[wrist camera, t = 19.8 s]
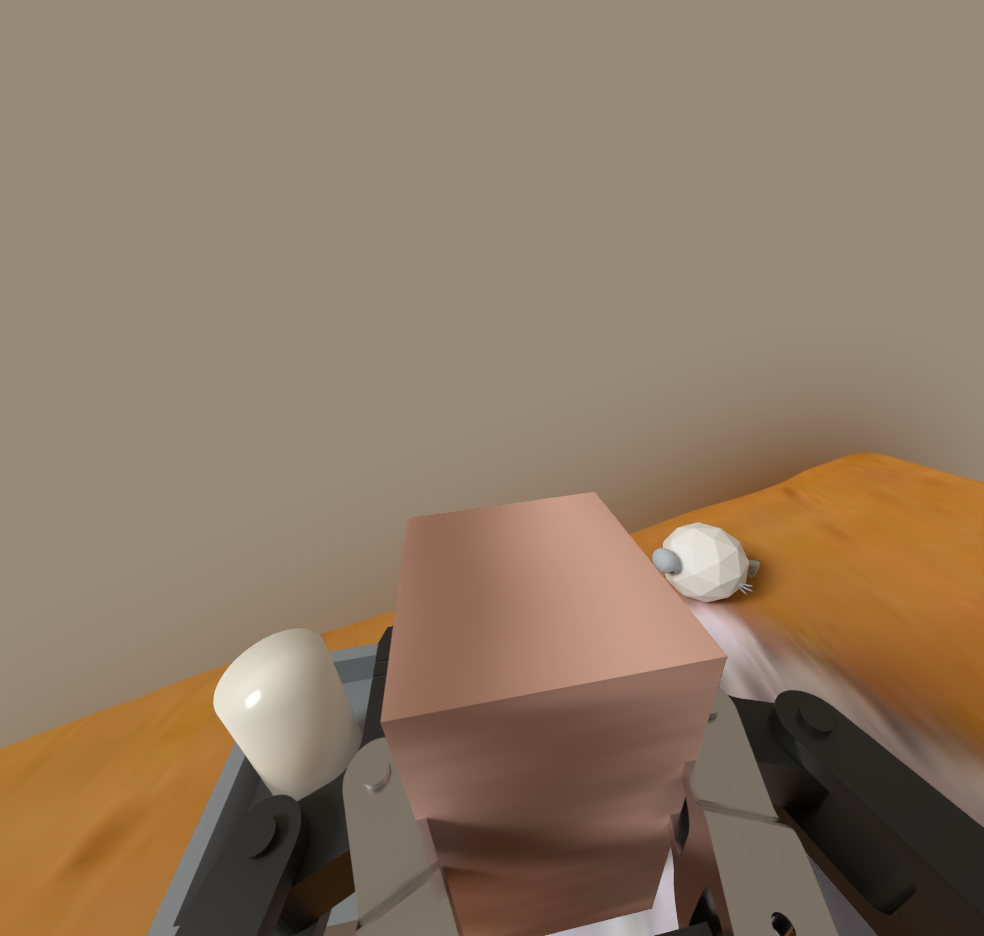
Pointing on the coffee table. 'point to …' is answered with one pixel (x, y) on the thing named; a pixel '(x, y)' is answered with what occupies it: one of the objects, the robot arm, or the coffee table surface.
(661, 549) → the alien figurine
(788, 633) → the coffee table surface
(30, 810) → the coffee table surface
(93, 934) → the coffee table surface
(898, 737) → the coffee table surface
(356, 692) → the tray
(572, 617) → the coral block
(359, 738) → the cream cylinder
